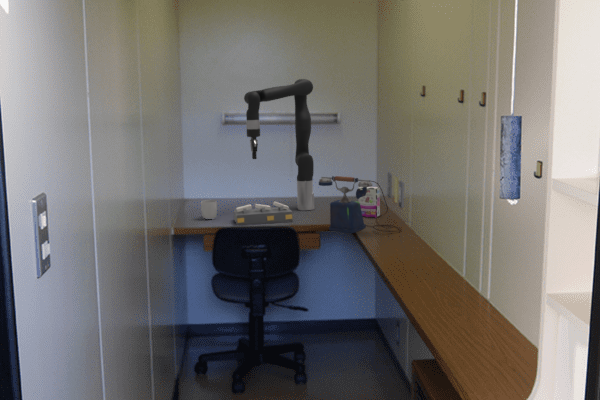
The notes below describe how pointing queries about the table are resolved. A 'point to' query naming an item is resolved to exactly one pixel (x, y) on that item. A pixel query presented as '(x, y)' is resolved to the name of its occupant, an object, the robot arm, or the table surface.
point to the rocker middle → (262, 206)
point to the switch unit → (263, 216)
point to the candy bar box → (370, 202)
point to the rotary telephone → (348, 206)
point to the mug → (209, 208)
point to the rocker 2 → (280, 205)
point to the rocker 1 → (244, 207)
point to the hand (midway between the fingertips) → (254, 159)
